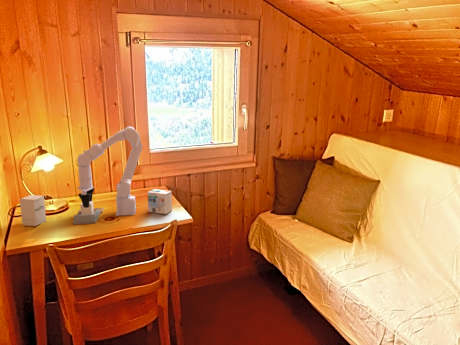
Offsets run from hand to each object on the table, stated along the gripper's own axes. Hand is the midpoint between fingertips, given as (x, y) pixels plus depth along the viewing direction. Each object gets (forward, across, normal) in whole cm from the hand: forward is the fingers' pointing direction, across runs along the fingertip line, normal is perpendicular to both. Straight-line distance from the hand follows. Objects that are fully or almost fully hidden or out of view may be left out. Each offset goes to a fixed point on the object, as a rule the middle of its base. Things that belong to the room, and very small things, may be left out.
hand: (87, 205), depth 180 cm
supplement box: (+6, +6, -23) cm, 25 cm away
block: (+5, 0, 0) cm, 5 cm away
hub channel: (+6, +4, 0) cm, 7 cm away
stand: (+6, -8, +3) cm, 10 cm away
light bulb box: (+6, -2, +35) cm, 36 cm away
